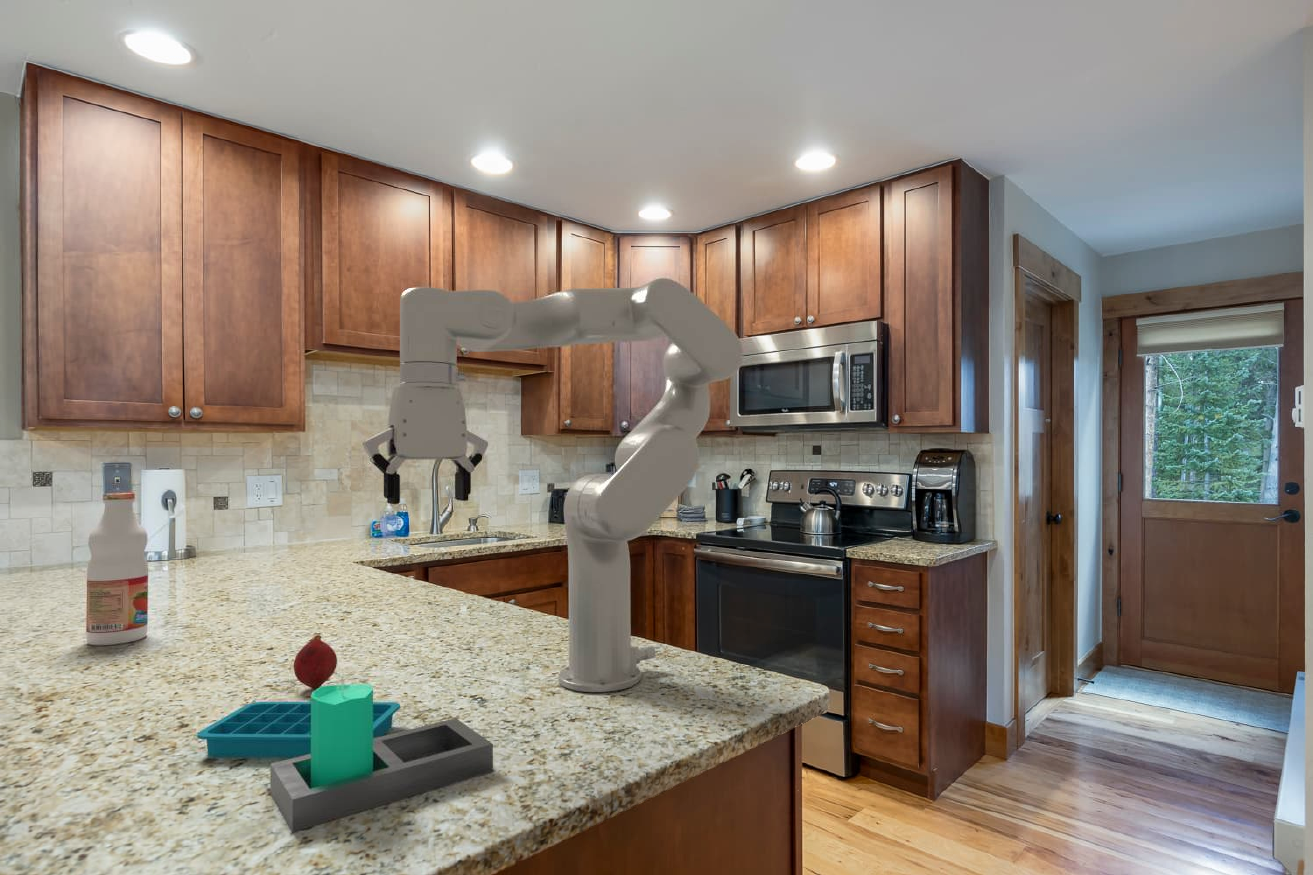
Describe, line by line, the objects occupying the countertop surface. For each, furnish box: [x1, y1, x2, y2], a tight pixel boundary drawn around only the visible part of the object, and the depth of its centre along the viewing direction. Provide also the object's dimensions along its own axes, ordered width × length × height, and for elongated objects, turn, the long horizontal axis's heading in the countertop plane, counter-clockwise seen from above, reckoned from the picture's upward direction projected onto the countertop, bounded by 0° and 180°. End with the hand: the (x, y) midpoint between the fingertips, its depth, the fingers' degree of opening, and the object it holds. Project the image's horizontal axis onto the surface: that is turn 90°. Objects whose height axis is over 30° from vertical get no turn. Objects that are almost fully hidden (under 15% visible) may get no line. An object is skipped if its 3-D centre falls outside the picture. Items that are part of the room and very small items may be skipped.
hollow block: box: [269, 717, 494, 833], centre depth 76 cm, size 20×10×3 cm, turn 129°
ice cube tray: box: [196, 701, 401, 759], centre depth 88 cm, size 12×20×3 cm, turn 88°
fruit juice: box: [85, 492, 149, 646], centre depth 138 cm, size 9×9×28 cm
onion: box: [293, 634, 338, 690], centre depth 107 cm, size 6×6×8 cm
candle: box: [310, 675, 374, 789], centre depth 74 cm, size 6×6×12 cm
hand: (428, 501), depth 99 cm, fingers open, 9 cm apart
